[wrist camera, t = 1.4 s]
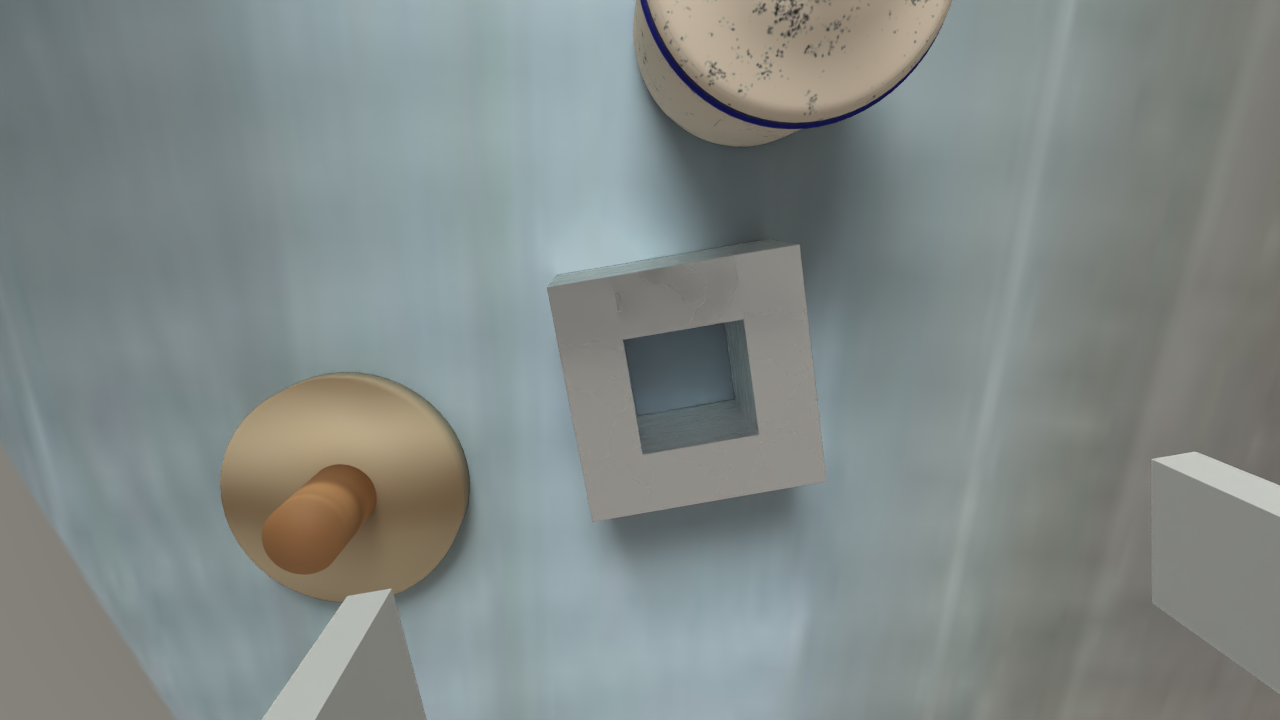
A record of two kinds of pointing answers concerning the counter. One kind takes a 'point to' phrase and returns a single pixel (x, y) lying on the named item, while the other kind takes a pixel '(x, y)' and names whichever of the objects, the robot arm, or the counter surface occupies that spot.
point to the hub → (345, 486)
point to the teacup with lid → (777, 60)
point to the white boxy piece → (705, 434)
